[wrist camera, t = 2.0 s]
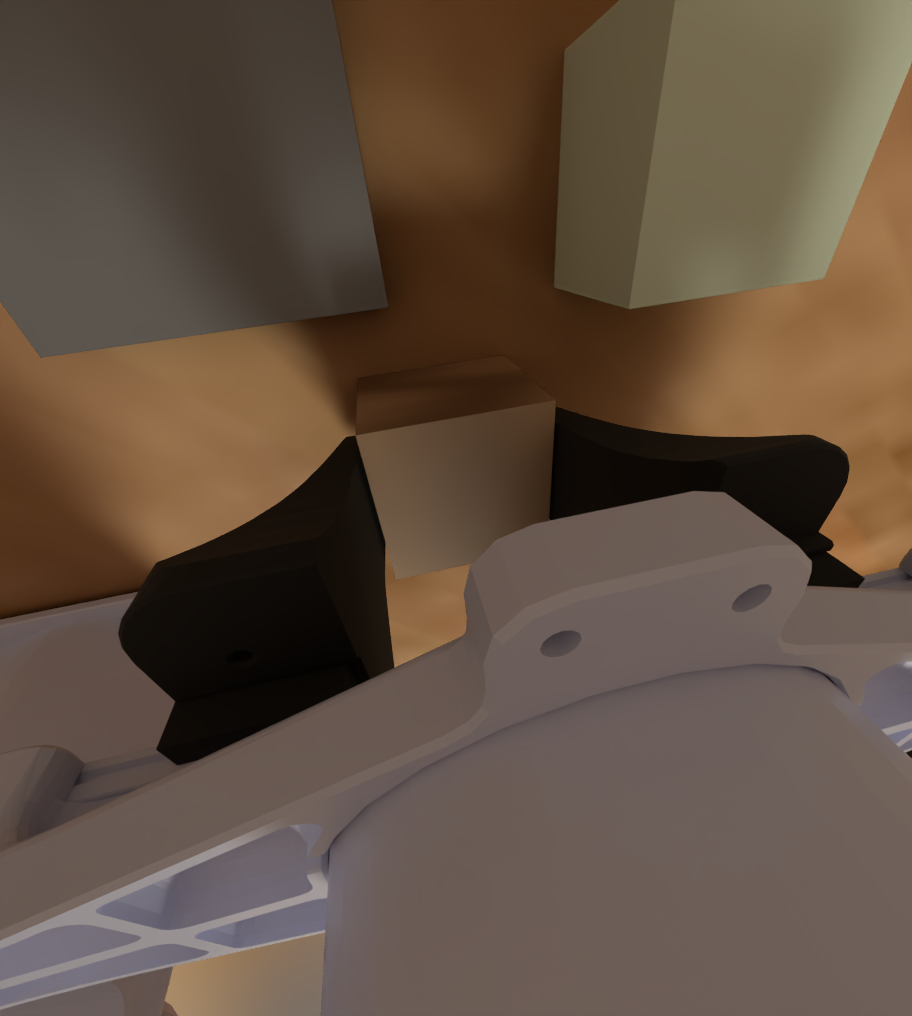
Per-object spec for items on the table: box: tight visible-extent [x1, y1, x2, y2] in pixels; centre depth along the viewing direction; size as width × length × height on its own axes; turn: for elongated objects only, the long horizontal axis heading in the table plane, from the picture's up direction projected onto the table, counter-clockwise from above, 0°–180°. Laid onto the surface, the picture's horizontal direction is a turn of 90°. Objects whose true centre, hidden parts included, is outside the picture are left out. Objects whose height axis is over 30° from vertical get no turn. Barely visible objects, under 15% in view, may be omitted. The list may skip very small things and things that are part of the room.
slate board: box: [0, 0, 389, 358], centre depth 7 cm, size 8×8×1 cm
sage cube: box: [554, 0, 912, 309], centre depth 8 cm, size 4×4×4 cm
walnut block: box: [356, 355, 556, 579], centre depth 11 cm, size 4×4×4 cm
